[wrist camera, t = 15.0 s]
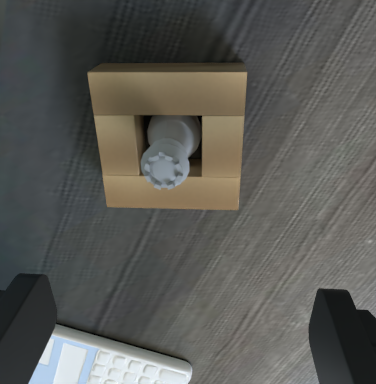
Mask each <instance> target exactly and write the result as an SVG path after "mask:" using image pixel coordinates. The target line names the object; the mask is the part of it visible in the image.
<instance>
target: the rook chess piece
mask: <svg viewBox="0 0 376 384" xmlns="http://www.w3.org/2000/svg"><path fill="white" fill-rule="evenodd" d="M147 135H148V142H149V144H150V147H149V148H148V150H147V151H146V152H145V153H144V154H143V156H142V159H141V171H142V173H143V174H144V177H145V178H146V180H147V182H151V183H152V184H153V185H154V188H157V189H159V190H161V188H168V190H169V189H172V188H175V186H177V185H180V184H181V183H182V182H183V181H184V180H185V179H186V178H187V175H188V173H189V161H188V157H190V156H191V155H192V154H193V153H194V152H195V151H196V150H197V148H198V145H199V143H200V140H201V138H202V127H201V125H200V122H199V120H198V118H197V117H196V116H195V115H153V116H152V117H151V120H150V123H149V126H148V130H147Z"/></svg>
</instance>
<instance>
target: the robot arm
mask: <svg viewBox="0 0 376 384" xmlns="http://www.w3.org/2000/svg"><path fill="white" fill-rule="evenodd" d="M56 321H57V308H56V304H55V301H54V297H53V294H52V290H51V287H50V283H49V280H48V277H47V276H46V275H44V274H22V273H20V274H18V275H17V276H16V277H15V278H14V279H13V281H12V282H11V284H10V285H9V286H8V288H7V289H6V291H2V290H0V384H29V381H30V379H31V377H32V375H33V373H34V371H35V369H36V367H37V365H38V363H39V360H40V358H41V356H42V354H43V352H44V350H45V348H46V346H47V344H48V342H49V339H50V337H51V335H52V333H53V331H54V329H55V325H56ZM309 343H310V348H311V352H312V356H313V360H314V364H315V368H316V372H317V376H318V380H319V384H376V318H375V317H374V316H373V315H372V314H371V313H370V312H369V311H368V310H356V307H355V305H354V302H353V300H352V298H351V295H350V293H349V292H348V291H347V290H342V289H320V288H319V289H318V291H317V293H316V298H315V302H314V306H313V310H312V314H311V318H310V323H309Z"/></svg>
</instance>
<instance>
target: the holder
mask: <svg viewBox="0 0 376 384" xmlns="http://www.w3.org/2000/svg"><path fill="white" fill-rule="evenodd" d="M87 74H88V81H89V88H90V95H91V101H92V108H93V114H94V120H95V127H96V134H97V140H98V147H99V154H100V161H101V167H102V174H103V182H104V189H105V196H106V202H107V207H128V208H169V209H210V210H238V208H239V192H240V177H241V161H242V146H243V131H244V115H245V100H246V84H247V71H246V68H245V65H244V63H101V64H99V65H98V66H96V67H95V68H93V69H92V70H90V71H89V72H87ZM144 115H202V159H188V161H189V173H188V175H187V178H186V179H185V180H184V181H183V182H182V183H181V184H180V185H177V186H175V188H172V189H169V190H168V188H161V190H159V189H157V188H154V185H153V184H152V183H151V182H147V180H146V178H145V177H144V174H143V173H142V171H141V159H142V156H143V154H144V153H145V152H146V141H145V128H144Z"/></svg>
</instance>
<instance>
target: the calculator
mask: <svg viewBox="0 0 376 384" xmlns="http://www.w3.org/2000/svg"><path fill="white" fill-rule="evenodd" d="M191 376H192V367H191V365H190V364H189V363H188V362H186V361H183V360H180V359H177V358H173V357H170V356H166V355H163V354H159V353H156V352H152V351H149V350H145V349H142V348H138V347H135V346H131V345H128V344H124V343H121V342H117V341H114V340H110V339H107V338H103V337H100V336H96V335H93V334H89V333H86V332H82V331H79V330H75V329H72V328H68V327H65V326H61V325H58V324H56V325H55V329H54V331H53V333H52V335H51V337H50V339H49V342H48V344H47V346H46V348H45V350H44V352H43V354H42V356H41V358H40V360H39V363H38V365H37V367H36V369H35V371H34V373H33V375H32V377H31V379H30V381H29V384H188V382H189V381H190V379H191Z"/></svg>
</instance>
